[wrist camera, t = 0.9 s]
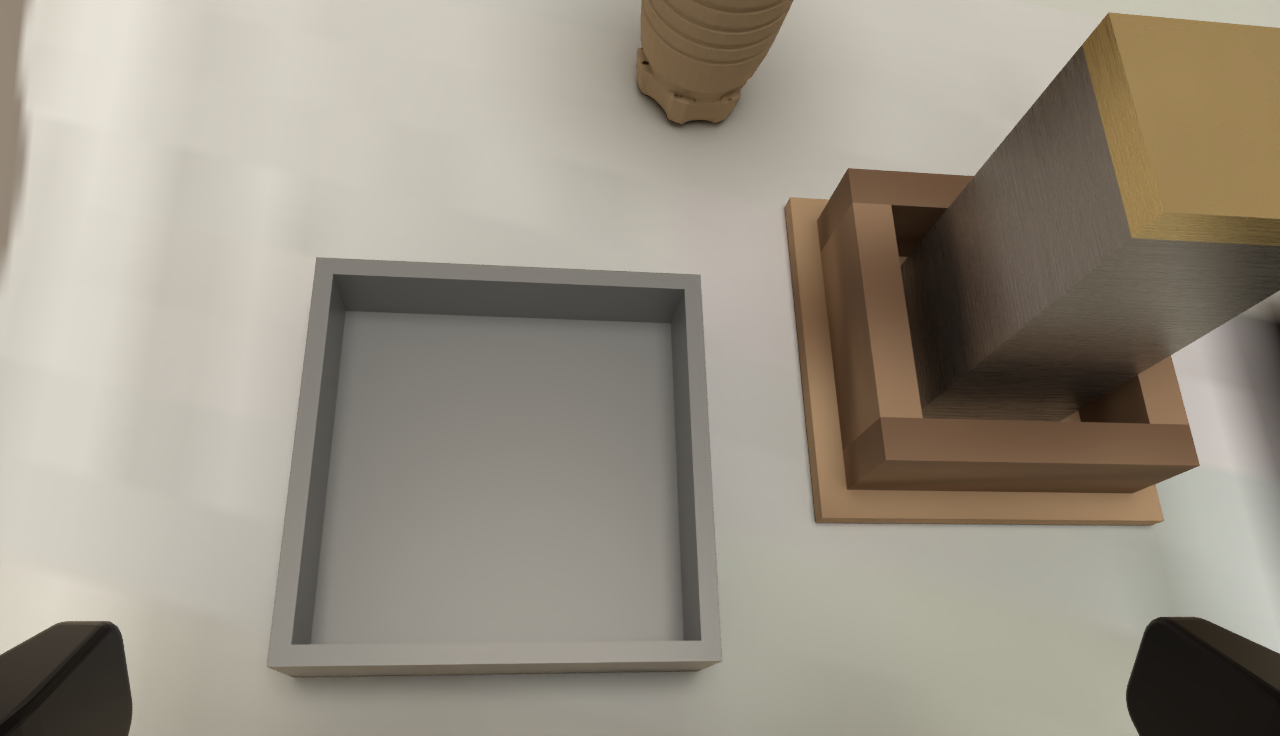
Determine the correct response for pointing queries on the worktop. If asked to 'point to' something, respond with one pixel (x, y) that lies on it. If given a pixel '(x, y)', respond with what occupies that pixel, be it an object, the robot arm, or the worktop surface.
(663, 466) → the tray
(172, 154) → the worktop surface
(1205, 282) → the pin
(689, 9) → the handle
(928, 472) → the holder
